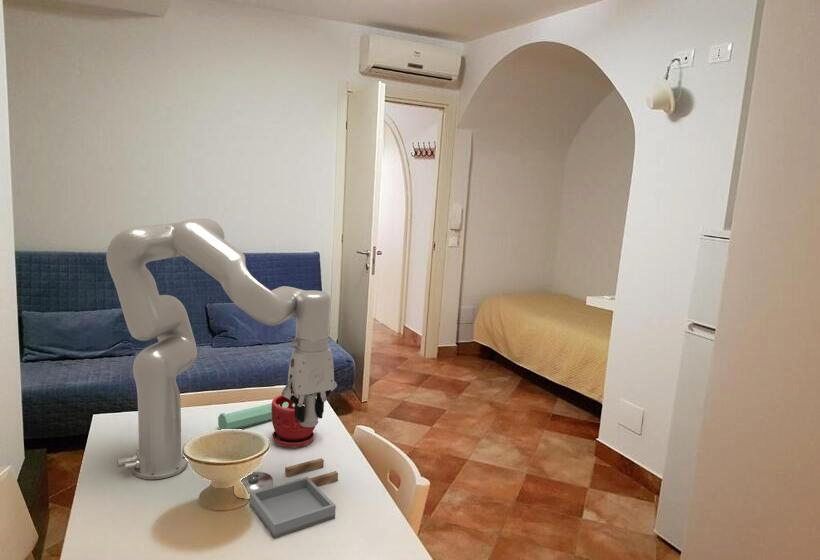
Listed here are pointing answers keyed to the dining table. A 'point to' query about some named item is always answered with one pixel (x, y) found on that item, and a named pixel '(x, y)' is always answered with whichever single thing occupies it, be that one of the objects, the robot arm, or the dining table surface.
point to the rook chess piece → (310, 411)
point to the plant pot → (288, 425)
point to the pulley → (257, 481)
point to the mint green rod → (247, 417)
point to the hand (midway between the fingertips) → (309, 417)
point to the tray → (292, 506)
